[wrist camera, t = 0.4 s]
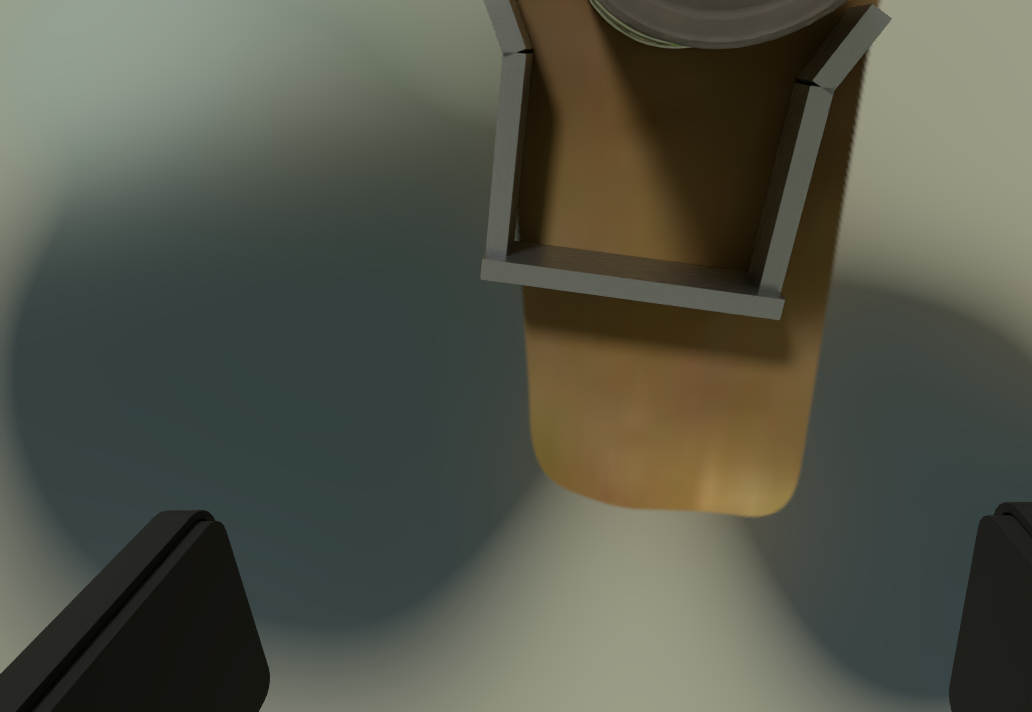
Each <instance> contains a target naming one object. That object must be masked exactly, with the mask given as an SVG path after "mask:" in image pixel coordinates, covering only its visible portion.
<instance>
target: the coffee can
mask: <svg viewBox="0 0 1032 712" xmlns="http://www.w3.org/2000/svg"><path fill="white" fill-rule="evenodd" d="M589 1H590V3H591V4H592V5H593V7H594V8H595V9H596V10H597V12H598V13H599V14H600V15H601V16H602V17H603V18H604V19H605V20H606V21H607V22H608V23H609V24H610V25H612V26H613V27H614V28H615V29H617V30H618V31H620V32H621V33H623V34H625V35H627V36H628V37H630V38H632V39H634V40H636V41H638V42H641V43H644V44H647V45H651V46H655V47H661V48H676V49H680V48H692V47H693V48H700V49H731V48H741V47H746V46H752V45H756V44H760V43H763V42H767V41H772V40H776V39H778V38H781V37H783V36H786V35H789V34H791V33H793V32H795V31H798V30H800V29H802V28H804V27H806V26H808V25H811V24H812V23H814V22H816V21H817V20H819V19H821V18H822V17H824V16H826V15H828V14H829V13H831V12H833V11H834V10H836V9H837V8H838V7H840V6H841V5H842V4H844V3H845V2H846V1H848V0H589Z"/></svg>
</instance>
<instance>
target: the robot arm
mask: <svg viewBox="0 0 1032 712" xmlns="http://www.w3.org/2000/svg"><path fill="white" fill-rule="evenodd" d="M269 683H270V673H269V667H268V665H267V661H266V658H265V654H264V651H263V648H262V645H261V641H260V638H259V635H258V632H257V629H256V625H255V622H254V619H253V616H252V613H251V609H250V606H249V603H248V600H247V596H246V593H245V590H244V587H243V583H242V580H241V577H240V574H239V570H238V567H237V564H236V561H235V557H234V554H233V551H232V548H231V545H230V541H229V538H228V535H227V532H226V529H225V527H224V525H223V524H222V523H221V522H218V521H215V519H214V517H213V516H212V515H211V514H210V513H209V512H207V511H204V510H170V511H169V510H168V511H163V512H160V513H159V514H157V515H156V516H155V517H154V518H153V519H152V520H151V521H150V522H149V523H148V524H147V525H146V526H145V527H144V528H143V529H142V530H141V531H140V532H139V533H138V534H137V535H136V536H135V537H134V538H133V539H132V540H131V541H130V542H129V543H128V544H127V545H126V546H125V547H124V548H123V549H122V550H121V551H120V552H119V553H118V554H117V555H116V556H115V557H114V559H113V560H112V561H111V562H110V563H109V564H108V565H107V566H106V567H105V568H104V569H103V570H102V571H101V572H100V573H99V574H98V575H97V576H96V577H95V578H94V579H93V580H92V581H91V582H90V583H89V584H88V585H87V586H86V587H85V588H84V589H83V590H82V591H81V592H80V593H79V594H78V595H77V596H76V597H75V598H74V599H73V600H72V602H70V604H69V605H68V606H67V607H66V608H65V609H64V610H63V611H62V612H61V613H60V614H59V615H58V616H57V617H56V618H55V619H54V620H53V621H52V622H51V623H50V624H49V625H48V626H47V627H46V628H45V629H44V630H43V631H42V632H41V633H40V634H39V635H38V636H37V637H36V638H35V639H34V640H33V641H32V642H31V643H30V644H29V645H28V646H27V648H25V649H24V651H22V653H21V654H20V655H19V656H18V657H17V658H16V659H15V660H14V661H13V662H12V663H11V664H10V665H9V666H8V667H7V668H6V669H5V670H4V671H3V672H2V673H1V674H0V712H259V710H260V708H261V706H262V704H263V703H264V700H265V698H266V696H267V692H268V689H269ZM949 699H950V705H951V711H952V712H1032V502H1005V503H1002V504H1000V505H999V506H998V507H997V509H996V510H995V513H994V515H987V516H984V517H983V518H982V519H981V520H980V523H979V526H978V531H977V536H976V542H975V547H974V553H973V558H972V564H971V569H970V575H969V581H968V586H967V592H966V597H965V603H964V608H963V614H962V620H961V626H960V631H959V636H958V642H957V648H956V653H955V658H954V664H953V670H952V675H951V681H950V686H949Z"/></svg>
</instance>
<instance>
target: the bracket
mask: <svg viewBox="0 0 1032 712" xmlns="http://www.w3.org/2000/svg"><path fill="white" fill-rule="evenodd" d="M484 2H485V5H486V8H487V11H488V14H489V16H490V19H491V22H492V25H493V27H494V30H495V33H496V36H497V39H498V41H499V44H500V47H501V50H502V52H503V59H502V70H501V82H500V94H499V107H498V117H497V129H496V140H495V151H494V164H493V175H492V186H491V198H490V209H489V222H488V233H487V245H486V254H485V256H484V257H483V259H482V268H481V279H482V280H489V281H497V282H504V283H511V284H518V285H526V286H533V287H540V288H548V289H555V290H562V291H570V292H577V293H584V294H591V295H599V296H606V297H613V298H621V299H628V300H635V301H643V302H650V303H657V304H665V305H672V306H679V307H686V308H694V309H701V310H708V311H716V312H723V313H730V314H738V315H745V316H752V317H760V318H767V319H774V320H780V318H781V314H782V310H783V306H784V303H785V299H784V297H783V296H782V294H781V290H782V286H783V282H784V278H785V275H786V271H787V267H788V263H789V259H790V256H791V252H792V248H793V244H794V241H795V237H796V233H797V229H798V226H799V222H800V218H801V214H802V210H803V207H804V203H805V199H806V195H807V192H808V188H809V184H810V180H811V176H812V173H813V169H814V165H815V161H816V158H817V154H818V150H819V146H820V143H821V139H822V135H823V131H824V127H825V124H826V120H827V116H828V112H829V109H830V105H831V101H832V97H833V94H834V91H835V89H836V88H837V87H838V86H839V84H840V83H841V82H842V81H843V79H844V78H845V77H846V76H847V74H848V73H849V72H850V71H851V69H852V68H853V67H854V66H855V64H856V63H857V62H858V61H859V59H860V58H861V57H862V56H863V54H864V53H865V52H866V51H867V49H868V48H869V47H870V46H871V44H872V43H873V42H874V41H875V39H876V38H877V37H878V36H879V34H880V33H881V32H882V31H883V29H884V28H885V27H886V26H887V24H888V23H889V22H890V20H891V19H892V18H890V17H889V16H888V15H886V14H885V13H884V12H882V11H881V10H880V9H879V8H877V7H876V6H875V5H873V4H868V5H863V6H857V7H851V8H849V9H848V11H847V12H846V13H845V15H844V16H843V17H842V19H841V20H840V21H839V22H838V24H837V25H836V26H835V28H834V29H833V30H832V32H831V33H830V34H829V35H828V37H827V38H826V39H825V41H824V42H823V43H822V45H821V46H820V47H819V48H818V50H817V51H816V52H815V54H814V55H813V56H812V58H811V59H810V60H809V61H808V63H807V64H806V65H805V67H804V68H803V69H802V71H801V72H800V73H799V74H798V76H797V77H796V78H797V79H798V80H799V81H801V82H802V83H803V84H801V83H794V84H793V89H792V93H791V97H790V101H789V105H788V109H787V113H786V117H785V122H784V126H783V130H782V134H781V138H780V142H779V146H778V150H777V155H776V159H775V163H774V167H773V171H772V175H771V179H770V183H769V187H768V192H767V196H766V200H765V204H764V208H763V212H762V216H761V220H760V225H759V229H758V233H757V237H756V241H755V245H754V249H753V253H752V258H751V262H750V266H749V270H748V272H746V271H738V270H731V269H723V268H716V267H708V266H701V265H693V264H685V263H678V262H670V261H663V260H655V259H648V258H640V257H633V256H625V255H617V254H610V253H602V252H595V251H587V250H580V249H572V248H565V247H557V246H549V245H542V244H534V243H527V242H519V241H514V238H515V228H516V218H517V208H518V198H519V189H520V179H521V169H522V159H523V149H524V140H525V130H526V120H527V110H528V101H529V91H530V81H531V71H532V61H533V53H525V52H526V51H528V50H531V49H533V47H532V44H531V41H530V38H529V35H528V32H527V29H526V26H525V24H524V21H523V18H522V15H521V12H520V9H519V6H518V3H517V0H484Z"/></svg>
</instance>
